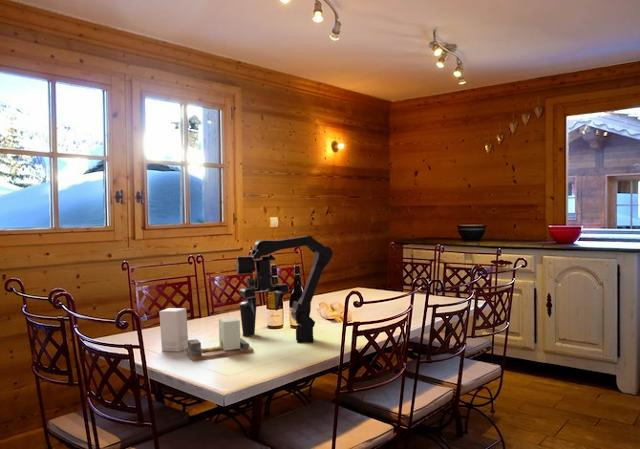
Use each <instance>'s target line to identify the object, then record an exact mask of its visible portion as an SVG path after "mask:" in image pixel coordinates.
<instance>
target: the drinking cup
mask: <svg viewBox="0 0 640 449" xmlns="http://www.w3.org/2000/svg"><path fill="white" fill-rule="evenodd" d="M257 304H258V302H257V301H256V306H257ZM238 305H239V312H240V322H241V329H242V336H243V337H254V336H255V333H256V332H255V331H256V320H257V319H256V317H257V316H256V315H257V313H256V314H254V313H253V311H252V308H251V306H250V303H249V302H248V300H247V299H244V300H243V301H241V302H239V303H238Z"/></svg>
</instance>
